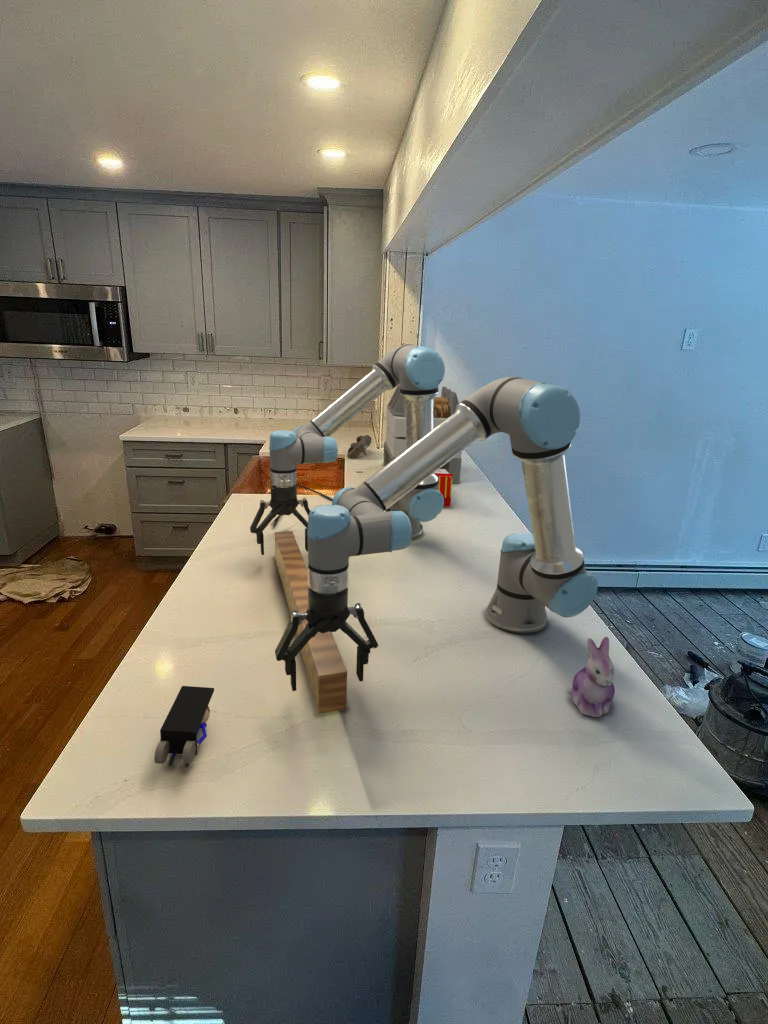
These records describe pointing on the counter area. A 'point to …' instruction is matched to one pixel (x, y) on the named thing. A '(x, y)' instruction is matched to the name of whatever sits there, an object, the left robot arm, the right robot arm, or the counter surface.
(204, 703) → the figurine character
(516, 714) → the counter surface
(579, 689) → the figurine
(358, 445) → the fossil
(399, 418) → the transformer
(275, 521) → the feather
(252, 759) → the counter surface
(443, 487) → the red striped box
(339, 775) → the counter surface
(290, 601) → the post
